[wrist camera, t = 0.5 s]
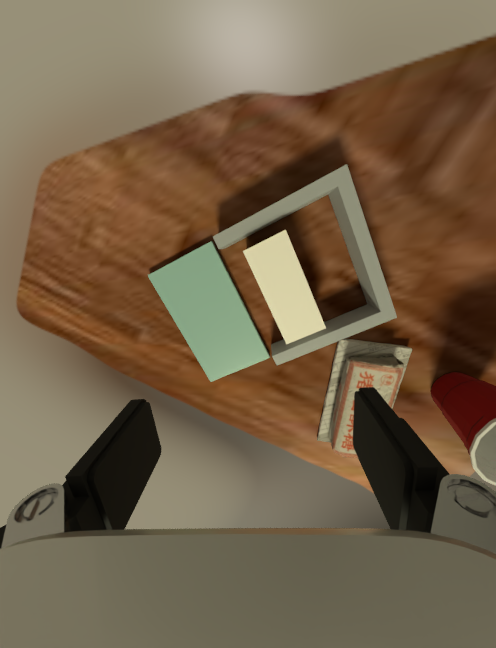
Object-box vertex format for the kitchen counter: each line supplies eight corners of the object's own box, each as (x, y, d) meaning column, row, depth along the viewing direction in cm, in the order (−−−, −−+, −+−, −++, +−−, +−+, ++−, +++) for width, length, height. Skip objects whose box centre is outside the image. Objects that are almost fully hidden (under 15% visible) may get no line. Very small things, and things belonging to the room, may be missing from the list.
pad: (212, 241, 32) (211, 241, 31) (269, 355, 36) (269, 357, 35) (150, 274, 33) (147, 275, 33) (211, 379, 38) (210, 381, 37)
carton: (281, 232, 31) (285, 229, 25) (315, 314, 34) (326, 328, 28) (246, 250, 32) (243, 251, 26) (282, 328, 35) (286, 344, 29)
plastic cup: (411, 361, 35) (483, 416, 23) (493, 351, 34) (611, 404, 22) (409, 422, 38) (472, 497, 27) (484, 415, 37) (583, 491, 25)
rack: (335, 175, 28) (347, 164, 25) (381, 309, 33) (397, 317, 29) (218, 237, 31) (212, 236, 28) (275, 352, 36) (276, 365, 32)
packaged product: (389, 468, 36) (321, 459, 36) (375, 442, 40) (315, 435, 41) (428, 358, 30) (347, 350, 30) (406, 343, 35) (336, 336, 35)
